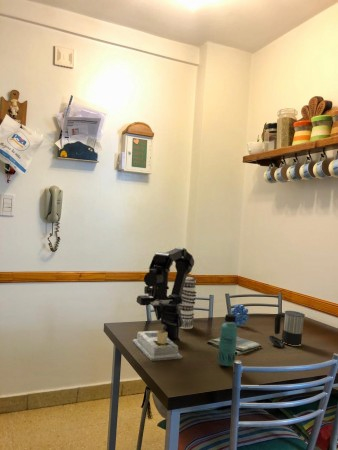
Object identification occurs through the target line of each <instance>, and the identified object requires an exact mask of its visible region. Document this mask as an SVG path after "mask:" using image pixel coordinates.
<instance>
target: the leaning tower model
mask: <svg viewBox="0 0 338 450" xmlns="http://www.w3.org/2000/svg"><path fill="white" fill-rule="evenodd" d="M196 282H197V281H196V279H195V277H192V276H191V277H190V276H186V280H185V284H184V287H183V291H182V295H181V298H182V304H179V307H180V310H181V314H180V315H181V318H182V320H183V324H182V327H179V329H183V330H190V329H193V327H194V326H193V325H194V316H195V313H194V312H195V311H194V308H195V307H194V306H195V304H196V302H195V301H196V298H195V297H197V295H196V294H197V292H196V289H197V288H196Z"/></svg>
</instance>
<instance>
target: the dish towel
mask: <svg viewBox="0 0 338 450" xmlns="http://www.w3.org/2000/svg"><path fill="white" fill-rule="evenodd" d="M219 343H220V337H217V338H214V339H210V340H207V341H206V344H208V345H211V346H213V347H215V348H218V349H219V345H220V344H219ZM259 347H261V348H262V344H260V343H258V342H255V341H253V340H250V339H246V338H242V337H239V336H237V339H236V350H235V352H236V354H235V355H236V356H241V355H243V354H246V353H249V352H252V351H255V350H254V349H256V350H258V349H257V348H259ZM259 349H260V348H259Z"/></svg>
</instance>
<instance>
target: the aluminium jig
mask: <svg viewBox="0 0 338 450" xmlns="http://www.w3.org/2000/svg"><path fill="white" fill-rule="evenodd" d="M158 331H159V330H147V331H146V330H145V331H137V335H136V338H133V339H132V342H133V344H134V345H135V346H136V347H137V348H138V349H139V350H140V351H141V352H142V353H143V354H144V356H146V357H147V359H149V360H150V361H151V362H156V361H167V360H178V359H179V360H180V359H182V358H183V355H182V354H180V353H179V346H178V345H177V344H176V343H174V341H173V340H170V339H168V338H167V345H163V346H158V345H157V334H158Z"/></svg>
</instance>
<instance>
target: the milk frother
mask: <svg viewBox="0 0 338 450" xmlns="http://www.w3.org/2000/svg"><path fill="white" fill-rule="evenodd" d="M305 316H306V315H305V313H303V312H300V311H294V310H285V311H284V312H279V313H277V314H276V315H275V317H274V334H275V335H280V333H281V319H282V318H283V322H282V323H283V325H282V333H281V334H282V335H281V339H280V338H278V337H277V336H274V335H269V336H268V339H269V341H270V342H271V343H272V344H273V345H275V346H277V347H280V348H282V347H281V346H283V347H285V344H283V342H285V343H287V344H291V345H299V344H302V338H303V331H304V330H303V329H304V328H303V327H304V321H305ZM281 341H282V342H281Z"/></svg>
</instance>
